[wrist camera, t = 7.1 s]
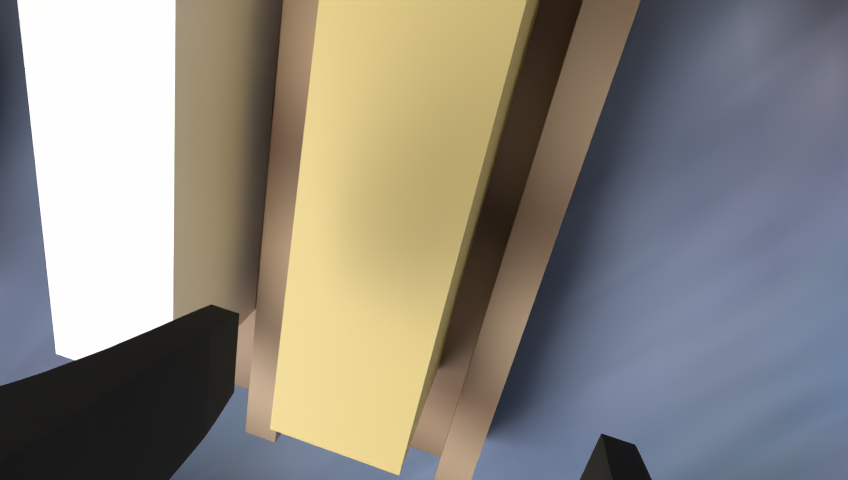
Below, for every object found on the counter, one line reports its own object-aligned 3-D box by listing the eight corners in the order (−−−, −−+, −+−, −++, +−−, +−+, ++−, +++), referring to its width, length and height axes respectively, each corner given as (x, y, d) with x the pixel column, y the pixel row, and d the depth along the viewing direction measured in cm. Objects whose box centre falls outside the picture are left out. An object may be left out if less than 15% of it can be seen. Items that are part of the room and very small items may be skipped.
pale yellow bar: (437, 369, 21) (398, 475, 17) (334, 334, 22) (269, 429, 17) (557, -61, 15) (546, -71, 10) (405, -95, 15) (332, -120, 11)
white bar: (254, 309, 22) (172, 395, 18) (159, 277, 22) (56, 353, 18) (292, -119, 16) (176, -153, 11) (157, -150, 16) (-5, -194, 12)
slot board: (476, 439, 24) (460, 509, 21) (136, 322, 26) (76, 370, 23) (703, -220, 14) (737, -274, 11) (119, -331, 16) (6, -403, 13)
